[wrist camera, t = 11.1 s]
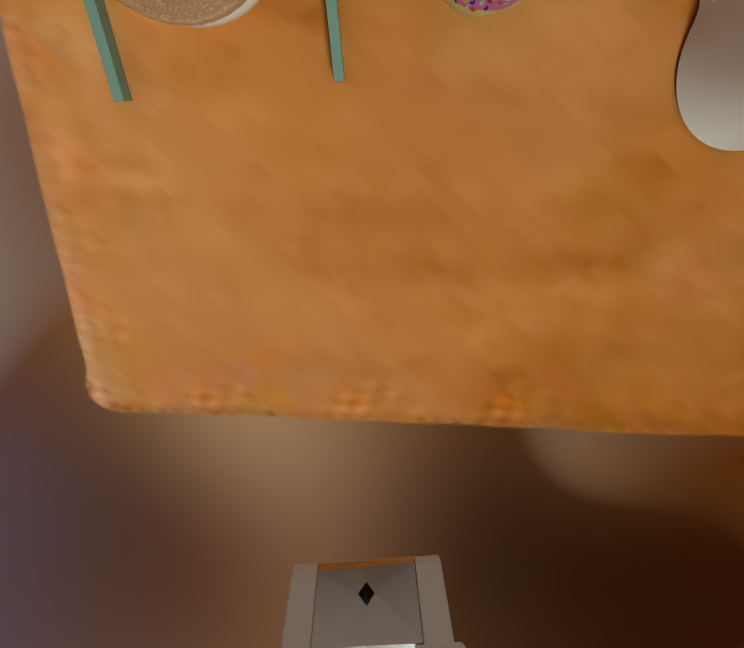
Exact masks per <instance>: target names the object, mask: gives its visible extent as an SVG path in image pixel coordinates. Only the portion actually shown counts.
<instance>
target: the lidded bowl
mask: <svg viewBox="0 0 744 648" xmlns="http://www.w3.org/2000/svg"><path fill="white" fill-rule="evenodd" d="M118 1H120V2H121V3H123V4H124V5H126V6H127V7H129V8H130V9H132V10H134V11H136V12H138V13H140V14H142V15H144V16H146V17H149V18H151V19H154V20H158V21H161V22H164V23H168V24H174V25H181V26H187V27H195V28H201V27H215V26H219V25H223V24H227V23H229V22H232V21H234V20H236V19H238V18H240V17H241V16H243V15H244V14H245V13H247V12H248V11H249V10H251V9H252V7H253V6H254V5H255V4H256V3H257V2H258V1H259V0H118Z"/></svg>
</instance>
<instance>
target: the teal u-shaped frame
mask: <svg viewBox="0 0 744 648" xmlns="http://www.w3.org/2000/svg"><path fill="white" fill-rule="evenodd" d="M83 1H84V4H85V7H86V11H87V14H88V17H89V21H90V24H91V27H92V30H93V34H94V37H95V40H96V44H97V47H98V50H99V53H100V57H101V60H102V63H103V67H104V70H105V73H106V76H107V80H108V83H109V86H110V90H111V93H112V96H113V99H114V102H119V101H132V98H131V94H130V91H129V87H128V84H127V80H126V77H125V73H124V70H123V66H122V63H121V60H120V56H119V53H118V49H117V46H116V42H115V39H114V35H113V32H112V28H111V25H110V21H109V18H108V14H107V11H106V7H105V4H104V0H83ZM326 8H327V18H328V27H329V37H330V46H331V56H332V66H333V75H334V82H342V81H345V80H344V69H343V59H342V48H341V38H340V27H339V17H338V6H337V0H326Z"/></svg>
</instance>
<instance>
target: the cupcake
mask: <svg viewBox="0 0 744 648" xmlns="http://www.w3.org/2000/svg"><path fill="white" fill-rule="evenodd" d="M444 1H445V2H446V3H447V4H448V5H449V6H450V7H451V8H452V9H454V10H455V11H456V12H458V13H459V14H462V15H466V16H470V17H483V16H489V15H492V14H496V13H499V12H502V11H506V10H510V9H512V8H514V7H515V6H517V5H518V4H520V3H521V2H523V1H524V0H444Z"/></svg>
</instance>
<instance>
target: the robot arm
mask: <svg viewBox="0 0 744 648" xmlns="http://www.w3.org/2000/svg"><path fill="white" fill-rule="evenodd" d="M676 92H677V101H678V106H679V110H680V113H681V116H682V118H683V120H684V122H685V124H686V126H687V127H688V129H689V130H690V131H691V132H692V134H693V135H694V136H695V137H696V138H698V139H699V140H700V141H702V142H703V143H705V144H707V145H709V146H711V147H714V148H717V149H721V150H728V151H740V150H744V0H700V2H699V9H698V12H697V15H696V18H695V20H694V23H693V25H692V27H691V30H690V32H689V34H688V36H687V39H686V41H685V44H684V47H683V50H682V53H681V57H680V60H679V65H678V71H677V81H676ZM281 648H466V647H465V646H464V645H463V643H462V642H454V639H453V633H452V627H451V621H450V615H449V609H448V603H447V597H446V591H445V585H444V579H443V573H442V567H441V561H440V559H439V556H438V555H431V556H420V557H415V558H414V557H413V556H409V557H398V558H386V559H374V560H367V561H353V562H335V563H312V564H298V565H295V566H294V569H293V572H292V576H291V584H290V590H289V597H288V604H287V611H286V618H285V625H284V632H283V638H282V645H281Z"/></svg>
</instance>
